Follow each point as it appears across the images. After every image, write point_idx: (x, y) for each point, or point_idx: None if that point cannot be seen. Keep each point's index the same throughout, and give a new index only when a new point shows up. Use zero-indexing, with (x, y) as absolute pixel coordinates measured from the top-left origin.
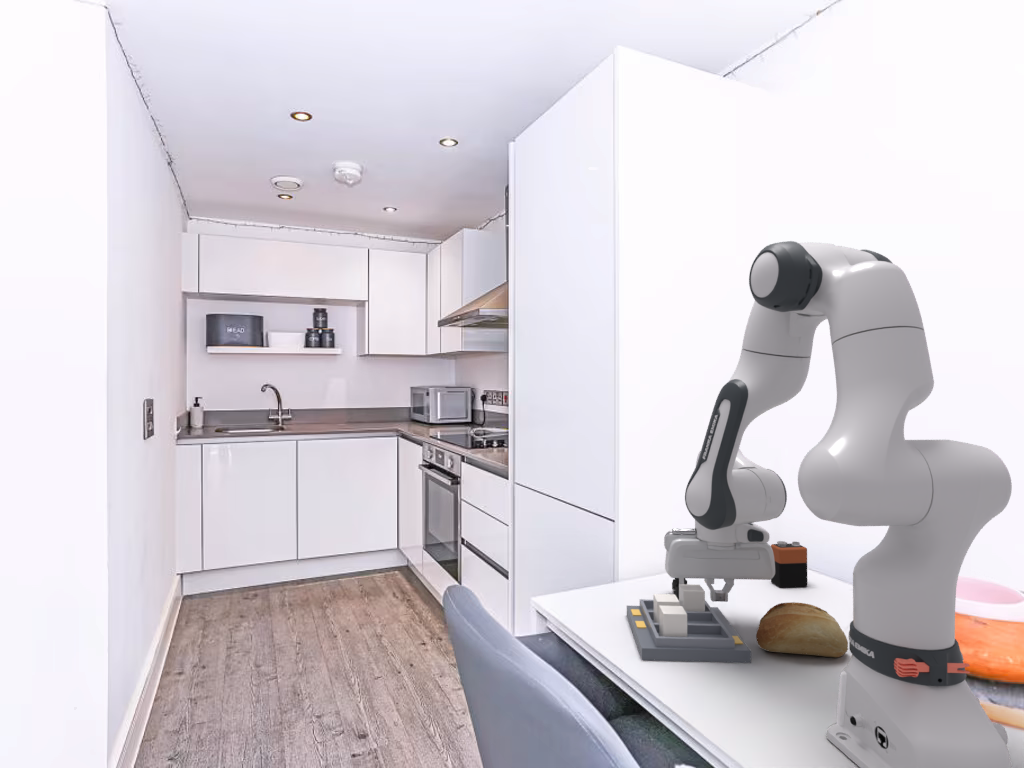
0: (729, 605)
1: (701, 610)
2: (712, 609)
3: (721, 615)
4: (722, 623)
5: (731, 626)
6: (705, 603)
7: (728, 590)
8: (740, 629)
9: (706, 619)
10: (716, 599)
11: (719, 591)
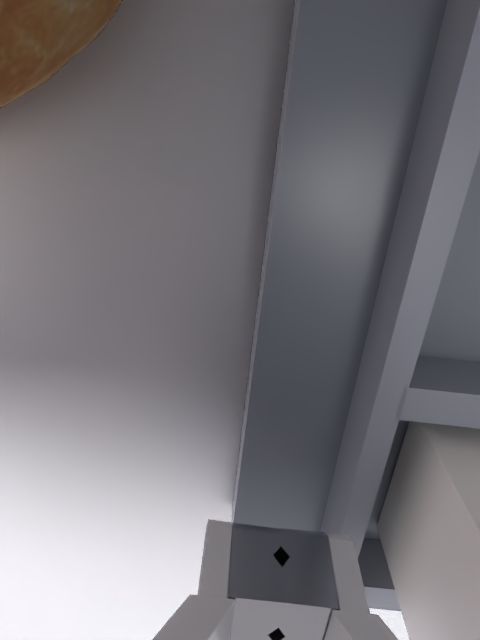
0: (110, 620)
1: (464, 448)
2: None
3: (261, 444)
4: (449, 119)
5: (277, 240)
6: None
7: (188, 624)
8: (159, 345)
9: (435, 363)
10: (317, 543)
11: (269, 636)
